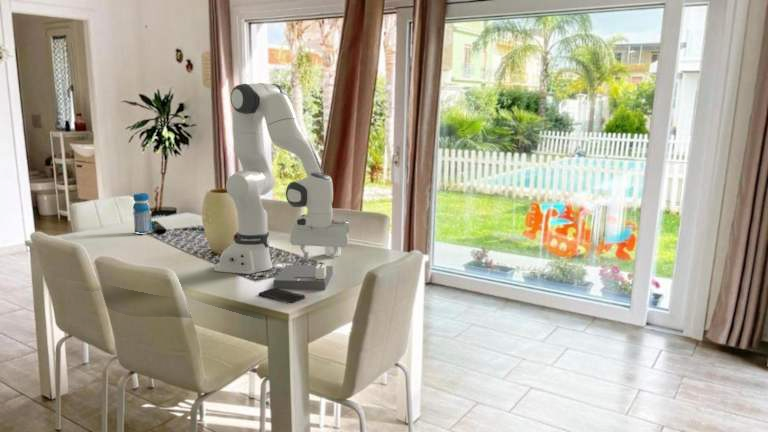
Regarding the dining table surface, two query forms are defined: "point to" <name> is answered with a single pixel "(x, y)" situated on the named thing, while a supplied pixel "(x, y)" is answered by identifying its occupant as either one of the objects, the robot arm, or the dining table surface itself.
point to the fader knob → (321, 271)
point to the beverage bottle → (142, 213)
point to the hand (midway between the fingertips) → (319, 258)
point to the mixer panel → (301, 278)
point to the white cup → (332, 251)
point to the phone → (281, 295)
